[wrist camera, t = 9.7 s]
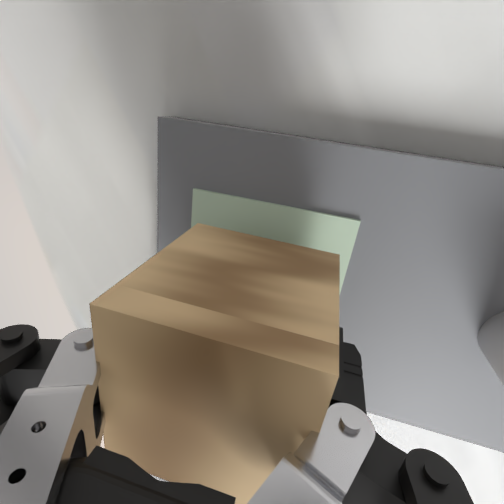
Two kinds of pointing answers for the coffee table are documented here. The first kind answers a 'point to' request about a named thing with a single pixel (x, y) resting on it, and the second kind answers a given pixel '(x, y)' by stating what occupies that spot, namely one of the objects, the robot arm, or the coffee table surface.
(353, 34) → the coffee table surface
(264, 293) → the cardboard box
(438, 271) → the post board
